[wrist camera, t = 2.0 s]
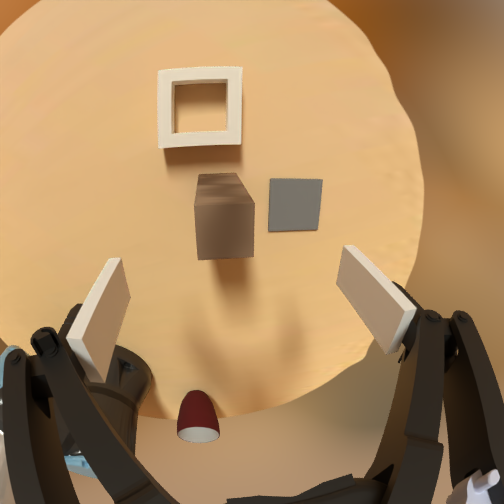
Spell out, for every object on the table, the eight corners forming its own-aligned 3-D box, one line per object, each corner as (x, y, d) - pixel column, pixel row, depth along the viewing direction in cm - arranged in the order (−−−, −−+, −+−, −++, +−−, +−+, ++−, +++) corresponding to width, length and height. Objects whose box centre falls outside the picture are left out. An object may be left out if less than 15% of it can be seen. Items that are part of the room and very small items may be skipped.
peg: (200, 209, 33) (197, 260, 22) (198, 174, 31) (194, 205, 20) (236, 207, 34) (253, 256, 22) (235, 173, 32) (254, 203, 20)
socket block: (162, 146, 29) (158, 148, 26) (162, 75, 25) (158, 70, 22) (238, 142, 30) (241, 144, 28) (239, 71, 26) (242, 66, 24)
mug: (231, 399, 52) (237, 438, 43) (204, 412, 53) (207, 448, 45) (196, 379, 48) (198, 422, 39) (169, 393, 49) (168, 434, 40)
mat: (268, 230, 36) (268, 231, 36) (270, 178, 33) (270, 179, 33) (316, 228, 37) (317, 229, 37) (321, 179, 34) (322, 179, 34)
